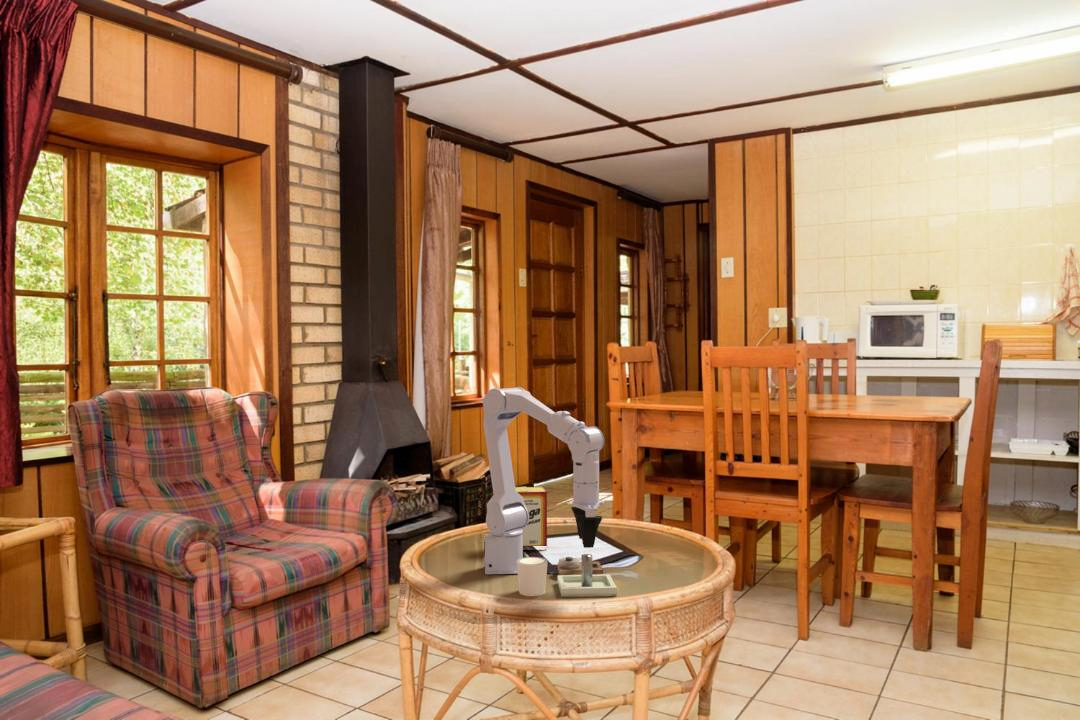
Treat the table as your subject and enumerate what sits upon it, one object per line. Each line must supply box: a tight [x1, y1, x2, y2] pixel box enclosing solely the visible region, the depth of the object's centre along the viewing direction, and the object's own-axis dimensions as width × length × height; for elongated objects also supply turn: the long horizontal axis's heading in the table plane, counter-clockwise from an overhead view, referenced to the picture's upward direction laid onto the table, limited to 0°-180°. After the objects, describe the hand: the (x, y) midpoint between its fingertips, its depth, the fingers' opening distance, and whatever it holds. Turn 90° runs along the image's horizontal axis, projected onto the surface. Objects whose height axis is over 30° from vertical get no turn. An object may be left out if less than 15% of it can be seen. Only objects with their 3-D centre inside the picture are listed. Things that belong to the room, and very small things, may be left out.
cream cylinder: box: [516, 556, 548, 597], centre depth 171 cm, size 7×7×7 cm
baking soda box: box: [515, 486, 548, 547], centre depth 210 cm, size 10×6×16 cm
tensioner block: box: [557, 556, 604, 575], centre depth 185 cm, size 10×7×4 cm
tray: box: [556, 573, 618, 598], centre depth 173 cm, size 12×10×2 cm
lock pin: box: [581, 553, 593, 587], centre depth 173 cm, size 2×2×7 cm
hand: (586, 542), depth 173 cm, fingers open, 7 cm apart
